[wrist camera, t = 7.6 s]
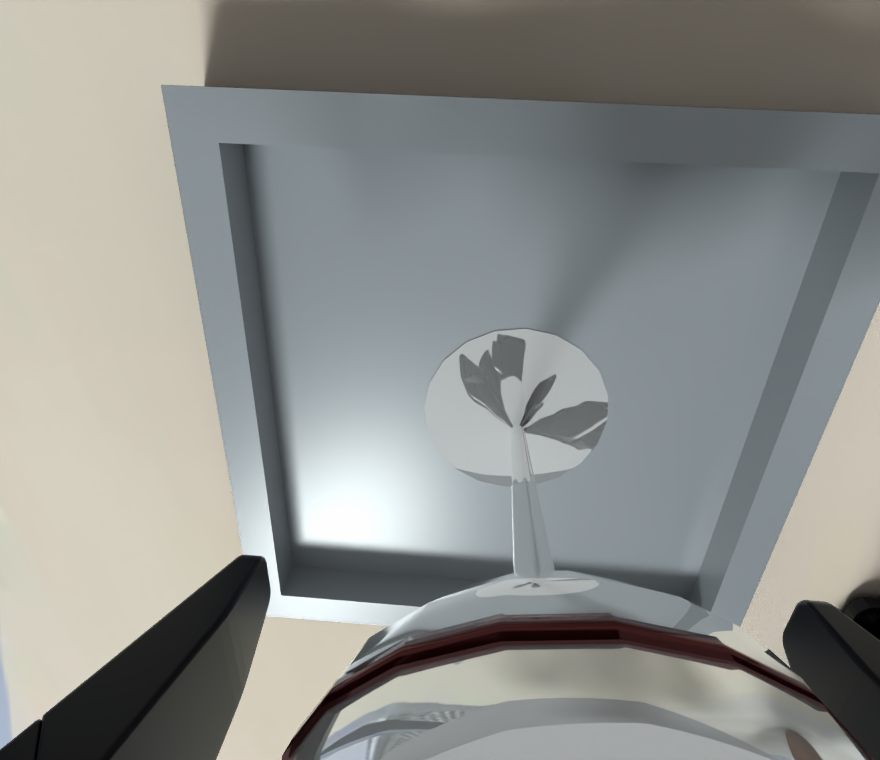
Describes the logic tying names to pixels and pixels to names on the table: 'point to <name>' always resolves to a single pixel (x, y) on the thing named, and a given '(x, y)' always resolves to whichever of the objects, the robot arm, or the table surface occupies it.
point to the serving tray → (520, 326)
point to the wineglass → (556, 618)
